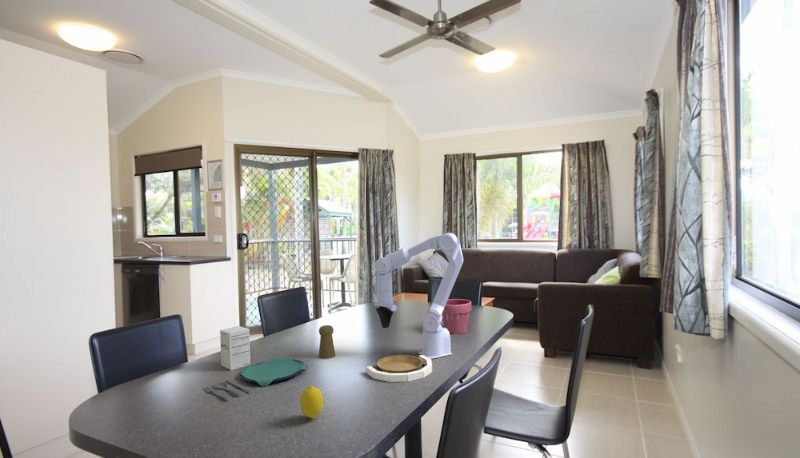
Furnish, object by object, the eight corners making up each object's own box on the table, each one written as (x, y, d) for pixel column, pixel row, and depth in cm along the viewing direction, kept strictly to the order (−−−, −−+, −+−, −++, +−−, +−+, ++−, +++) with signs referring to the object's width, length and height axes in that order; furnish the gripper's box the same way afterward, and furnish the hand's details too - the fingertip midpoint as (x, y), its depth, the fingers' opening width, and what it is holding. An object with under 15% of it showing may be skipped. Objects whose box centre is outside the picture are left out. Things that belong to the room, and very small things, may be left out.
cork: (331, 359, 144) (330, 328, 143) (315, 358, 145) (314, 327, 145) (337, 353, 150) (336, 323, 149) (322, 353, 151) (321, 323, 151)
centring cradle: (422, 360, 139) (422, 354, 139) (444, 372, 128) (444, 366, 127) (366, 372, 129) (366, 366, 129) (384, 387, 118) (384, 380, 118)
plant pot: (440, 326, 183) (439, 298, 183) (471, 326, 182) (470, 298, 181) (438, 335, 169) (437, 305, 169) (472, 335, 167) (472, 304, 167)
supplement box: (220, 366, 140) (219, 329, 140) (241, 360, 145) (240, 325, 145) (230, 371, 135) (228, 333, 135) (251, 364, 140) (249, 328, 140)
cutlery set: (317, 371, 132) (317, 364, 132) (227, 406, 110) (227, 398, 109) (283, 360, 145) (283, 354, 145) (196, 389, 123) (196, 381, 123)
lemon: (302, 414, 102) (301, 382, 102) (324, 412, 103) (323, 381, 103) (298, 424, 97) (297, 391, 97) (322, 423, 97) (321, 390, 97)
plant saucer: (423, 362, 138) (423, 354, 138) (421, 379, 123) (421, 370, 123) (381, 362, 140) (380, 354, 140) (373, 378, 125) (373, 370, 125)
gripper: (366, 289, 153) (367, 325, 153) (383, 294, 140) (385, 333, 140) (382, 287, 156) (384, 322, 156) (401, 292, 144) (402, 330, 144)
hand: (385, 327), depth 149 cm, fingers closed
